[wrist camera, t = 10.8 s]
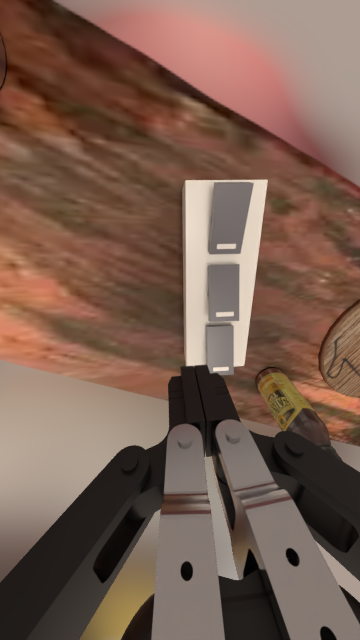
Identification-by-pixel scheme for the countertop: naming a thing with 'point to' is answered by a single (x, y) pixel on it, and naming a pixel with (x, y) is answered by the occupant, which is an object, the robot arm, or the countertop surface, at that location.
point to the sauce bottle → (292, 409)
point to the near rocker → (229, 216)
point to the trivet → (342, 353)
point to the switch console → (198, 259)
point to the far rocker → (220, 349)
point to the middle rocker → (223, 292)
